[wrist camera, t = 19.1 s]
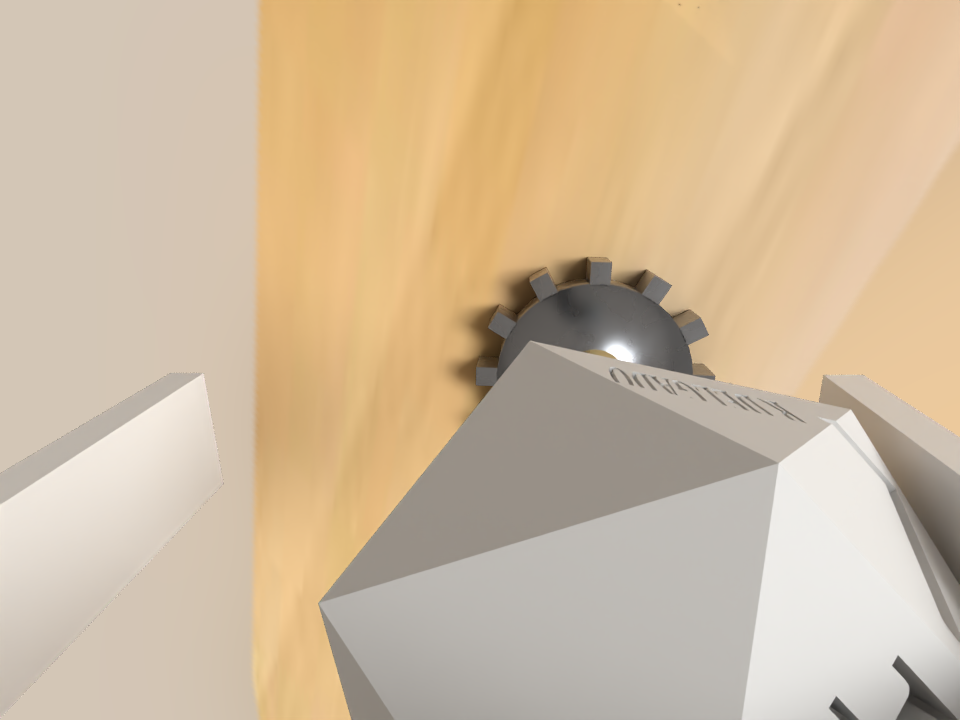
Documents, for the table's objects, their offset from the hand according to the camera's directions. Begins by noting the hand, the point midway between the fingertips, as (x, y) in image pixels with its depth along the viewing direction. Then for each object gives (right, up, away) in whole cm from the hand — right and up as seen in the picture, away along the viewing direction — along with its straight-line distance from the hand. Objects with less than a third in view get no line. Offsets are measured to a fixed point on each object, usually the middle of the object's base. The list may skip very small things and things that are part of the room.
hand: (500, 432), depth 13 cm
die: (+3, -1, +1) cm, 3 cm away
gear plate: (+7, +1, +27) cm, 27 cm away
